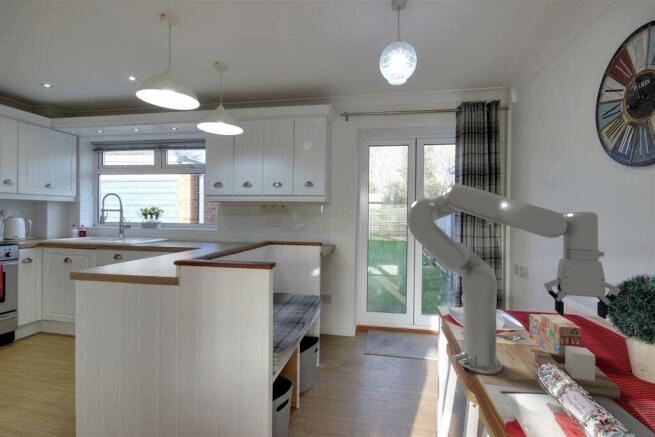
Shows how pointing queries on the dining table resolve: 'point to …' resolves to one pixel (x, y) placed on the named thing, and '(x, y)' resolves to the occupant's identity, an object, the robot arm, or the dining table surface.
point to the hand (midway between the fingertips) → (580, 315)
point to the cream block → (580, 363)
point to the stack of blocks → (554, 332)
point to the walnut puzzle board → (596, 388)
